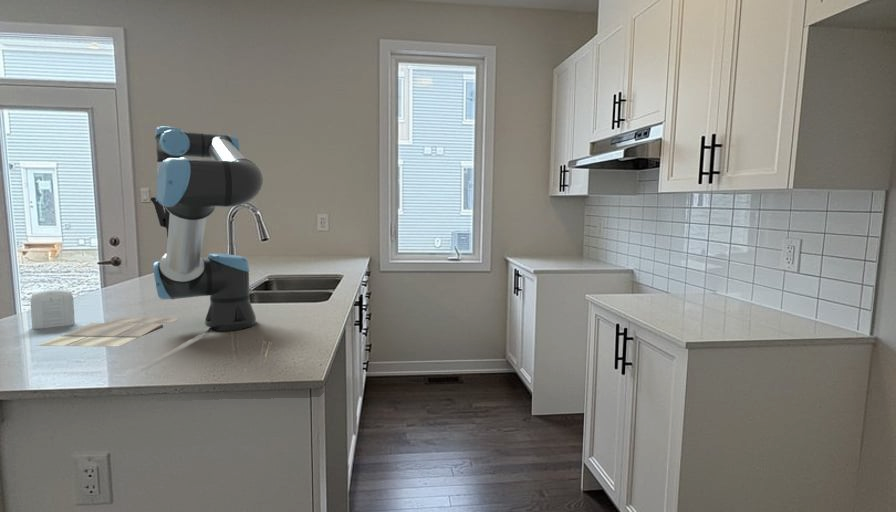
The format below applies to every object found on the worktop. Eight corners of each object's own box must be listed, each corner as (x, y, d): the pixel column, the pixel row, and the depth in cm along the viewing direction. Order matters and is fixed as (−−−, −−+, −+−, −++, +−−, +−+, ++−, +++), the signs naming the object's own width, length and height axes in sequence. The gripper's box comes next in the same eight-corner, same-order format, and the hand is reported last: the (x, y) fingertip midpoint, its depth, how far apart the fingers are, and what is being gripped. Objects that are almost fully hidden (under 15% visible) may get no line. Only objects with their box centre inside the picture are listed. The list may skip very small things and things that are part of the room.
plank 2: (180, 321, 158) (180, 318, 158) (172, 326, 153) (172, 322, 153) (116, 322, 157) (116, 318, 156) (106, 326, 151) (106, 322, 151)
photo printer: (76, 325, 152) (73, 287, 150) (74, 328, 148) (71, 289, 147) (33, 329, 146) (30, 290, 145) (31, 333, 143) (27, 292, 141)
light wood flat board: (139, 340, 137) (139, 336, 137) (118, 350, 128) (118, 346, 128) (63, 339, 137) (62, 335, 137) (36, 349, 128) (35, 344, 128)
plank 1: (163, 327, 148) (162, 323, 148) (140, 340, 137) (140, 336, 137) (92, 326, 148) (91, 322, 148) (64, 339, 137) (63, 334, 137)
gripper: (197, 177, 158) (200, 247, 161) (158, 176, 158) (161, 246, 161) (184, 176, 151) (188, 249, 154) (143, 175, 151) (147, 249, 154)
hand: (174, 248), depth 157 cm, fingers closed
